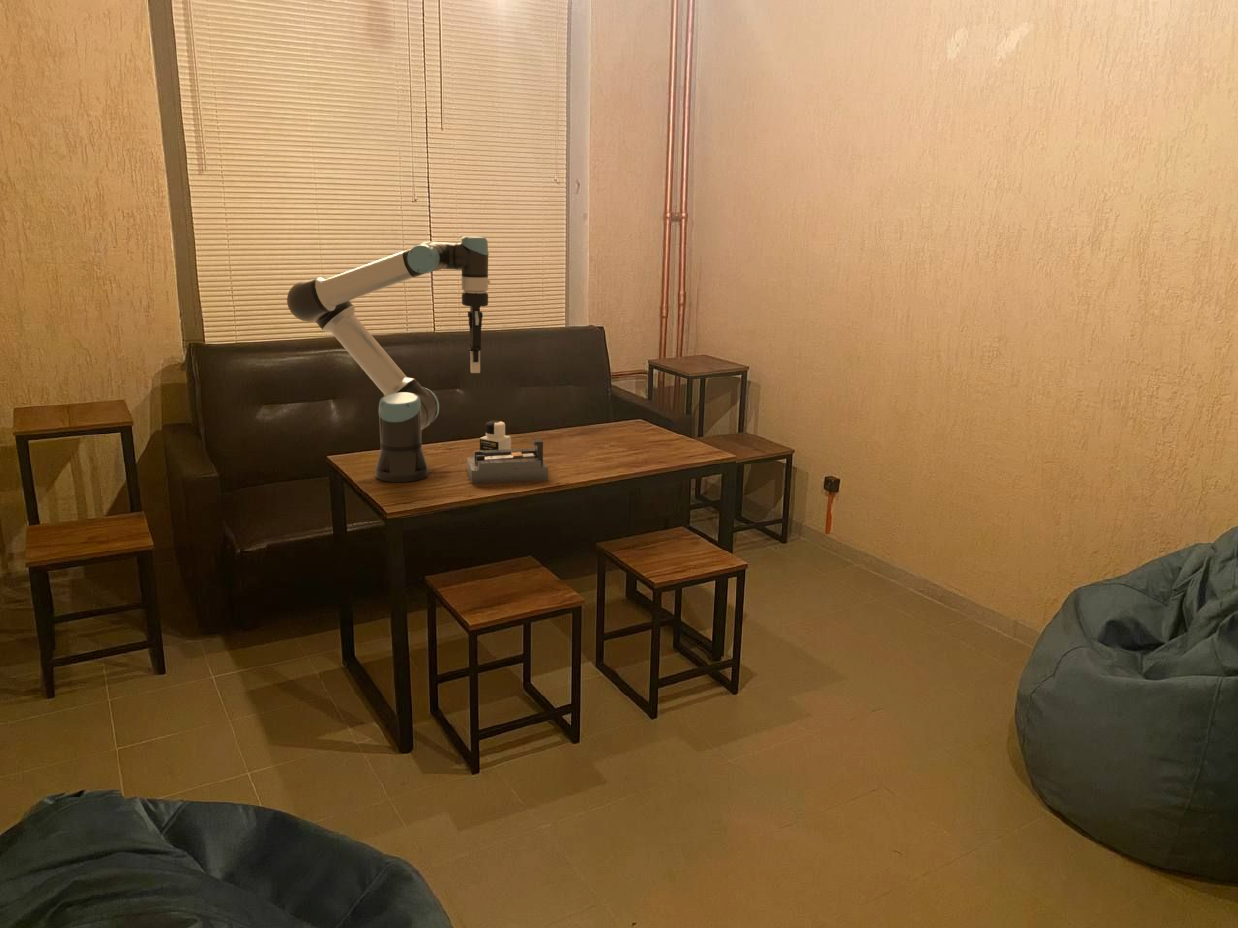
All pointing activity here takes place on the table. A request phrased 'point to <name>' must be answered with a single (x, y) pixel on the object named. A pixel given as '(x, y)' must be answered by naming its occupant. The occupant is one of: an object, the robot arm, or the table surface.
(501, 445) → the medicine bottle
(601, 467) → the table surface
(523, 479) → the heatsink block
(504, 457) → the strap
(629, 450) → the table surface
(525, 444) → the table surface
